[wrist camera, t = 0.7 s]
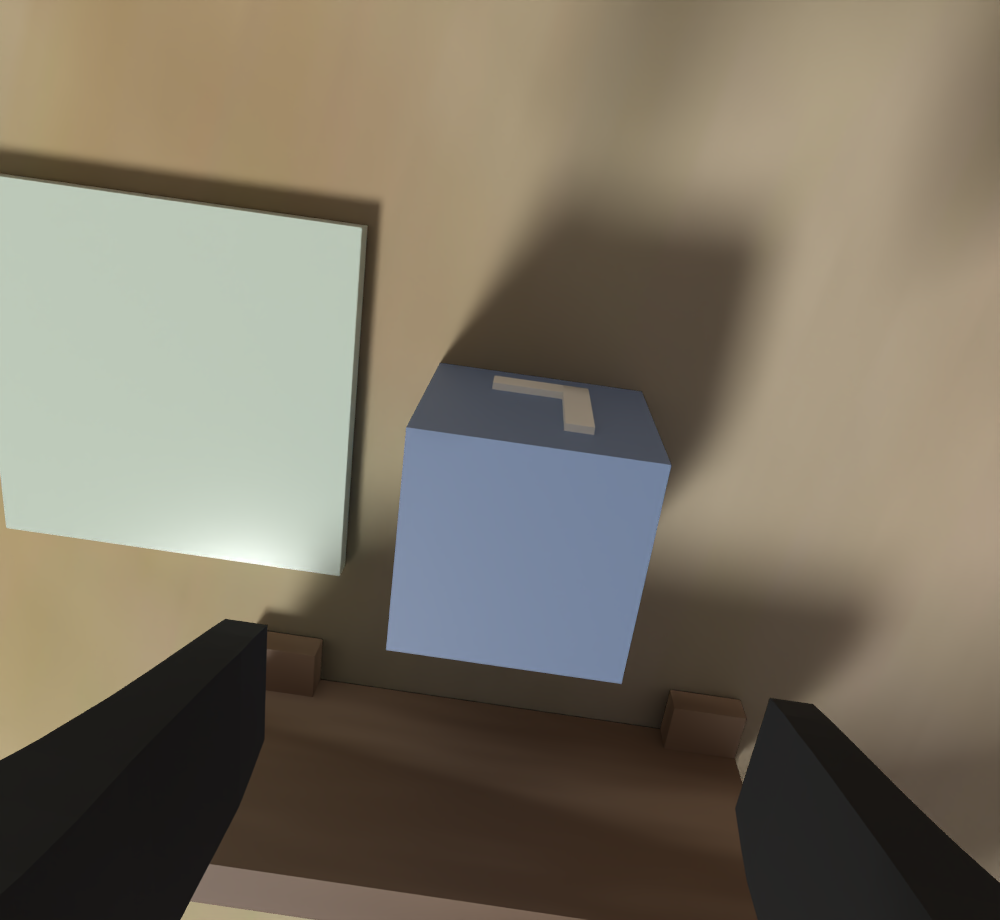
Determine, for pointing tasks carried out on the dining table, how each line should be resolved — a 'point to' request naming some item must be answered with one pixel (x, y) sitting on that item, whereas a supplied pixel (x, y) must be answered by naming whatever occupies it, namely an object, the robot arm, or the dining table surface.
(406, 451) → the cube
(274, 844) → the brown wooden bar
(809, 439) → the dining table surface
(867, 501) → the dining table surface
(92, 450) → the tile
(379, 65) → the dining table surface
